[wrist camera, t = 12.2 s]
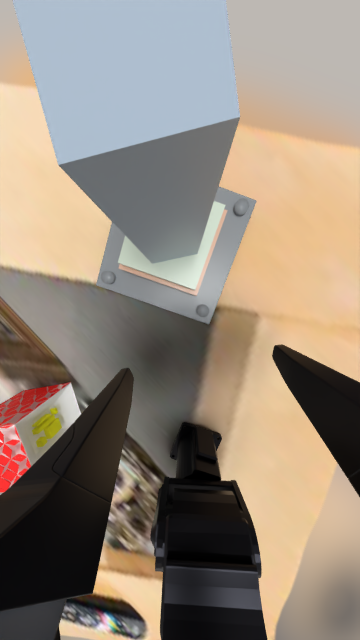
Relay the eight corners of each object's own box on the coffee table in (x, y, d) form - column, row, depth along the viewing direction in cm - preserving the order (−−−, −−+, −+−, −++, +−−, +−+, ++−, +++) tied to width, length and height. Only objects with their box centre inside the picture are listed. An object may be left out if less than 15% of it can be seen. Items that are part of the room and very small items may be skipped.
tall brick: (197, 253, 16) (240, 116, 4) (152, 263, 17) (58, 165, 4) (188, 203, 16) (206, -159, 3) (141, 214, 16) (-10, -79, 3)
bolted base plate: (208, 323, 21) (213, 329, 17) (99, 285, 21) (79, 282, 17) (253, 204, 19) (271, 180, 15) (131, 159, 19) (117, 122, 15)
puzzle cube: (85, 426, 25) (39, 487, 17) (40, 433, 25) (-26, 496, 17) (70, 381, 23) (14, 423, 16) (23, 389, 24) (-55, 434, 16)
